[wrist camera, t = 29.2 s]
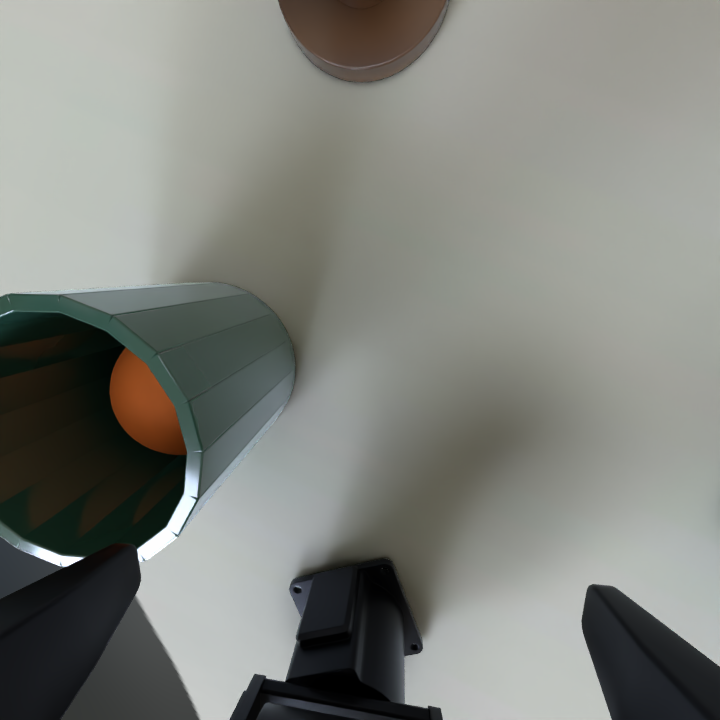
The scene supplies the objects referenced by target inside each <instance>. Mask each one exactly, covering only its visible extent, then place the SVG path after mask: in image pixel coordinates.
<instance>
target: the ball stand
mask: <svg viewBox="0 0 720 720" xmlns="http://www.w3.org/2000/svg"><path fill="white" fill-rule="evenodd" d="M278 1H279V5H280V8H281V11H282V13H283V16H284V18H285V21H286V23H287V25H288V27H289V29H290V31H291V33H292V35H293V37H294V39H295V41H296V43H297V45H298V46H299V47H300V49H301V50H302V51H303V53H304V54H305V55H306V56H307V57H308V58H309V60H310V61H311V62H312V63H314V64H315V65H316V66H317V67H319V68H320V69H321V70H323V71H325V72H326V73H328V74H330V75H332V76H334V77H337V78H339V79H343V80H347V81H354V82H369V81H375V80H380V79H383V78H386V77H389V76H392V75H394V74H395V73H397V72H399V71H401V70H403V69H404V68H406V67H407V66H408V65H410V64H411V63H412V62H413V61H415V60H416V59H417V58H418V57H419V56H420V55H421V54H422V53H423V51H424V50H425V49H426V48H427V47H428V46H429V44H430V43H431V41H432V40H433V38H434V37H435V35H436V33H437V31H438V29H439V27H440V25H441V23H442V21H443V18H444V16H445V13H446V11H447V7H448V3H449V0H278Z"/></svg>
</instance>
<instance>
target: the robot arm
mask: <svg viewBox="0 0 720 720" xmlns="http://www.w3.org/2000/svg"><path fill="white" fill-rule="evenodd" d="M383 567H386V568H388V569H387V570H384V569H382V568H383ZM140 582H141V573H140V566H139V559H138V552H137V548H136V547H135V545H133V544H125V543H114V544H111V545H109V546H107V547H105V548H103V549H101V550H99V551H97V552H95V553H93V554H91V555H89V556H87V557H85V558H83V559H81V560H79V561H77V562H75V563H73V564H71V565H69V566H66V567H64V568H62V569H60V570H58V571H56V572H54V573H52V574H50V575H48V576H46V577H44V578H42V579H40V580H38V581H36V582H34V583H32V584H30V585H28V586H26V587H24V588H22V589H20V590H18V591H16V592H14V593H12V594H10V595H7V596H5V597H3V598H1V599H0V720H61V718H62V717H63V715H64V714H65V712H66V711H67V709H68V708H69V706H70V705H71V703H72V702H73V700H74V699H75V697H76V696H77V694H78V692H79V691H80V690H81V688H82V686H83V685H84V683H85V682H86V680H87V679H88V677H89V676H90V674H91V672H92V670H93V669H94V667H95V666H96V664H97V662H98V660H99V659H100V657H101V655H102V654H103V652H104V650H105V648H106V646H107V645H108V643H109V641H110V639H111V638H112V636H113V634H114V632H115V630H116V629H117V627H118V625H119V623H120V621H121V620H122V618H123V616H124V614H125V612H126V610H127V609H128V607H129V605H130V603H131V602H132V600H133V598H134V596H135V594H136V593H137V591H138V588H139V586H140ZM297 587H300V588H297ZM289 590H290V593H291V596H292V598H293V600H294V602H295V605H296V607H297V609H298V611H299V614H300V616H301V621H300V624H299V628H298V631H297V635H296V640H297V642H296V645H295V649H294V652H293V656H292V659H291V663H290V666H289V670H288V674H287V677H286V681H285V682H283V681H277V680H272V679H266V676H264V675H258V674H254V676H253V678H252V680H251V682H250V684H249V686H248V688H247V690H246V691H244V692H243V694H242V696H241V698H240V700H239V702H238V704H237V706H236V708H235V710H234V712H233V714H232V716H231V718H230V720H443V719H442V713H441V708H437V707H432V706H428V708H423V707H418V706H412V705H407V704H405V692H404V656H407V655H413V654H418V653H420V652H421V651H422V649H423V642H422V638H421V635H420V633H419V630H418V627H417V625H416V622H415V619H414V617H413V614H412V611H411V609H410V606H409V604H408V601H407V598H406V596H405V593H404V590H403V588H402V585H401V582H400V580H399V577H398V575H397V572H396V569H395V567H394V564H393V562H392V561H391V560H389V559H379V560H375V561H370V562H366V563H361V564H357V565H352V566H348V567H344V568H339V569H335V570H330V571H326V572H321V573H317V574H312V575H308V576H303V577H299V578H295V579H293V581H292V582H291V585H290V588H289ZM582 630H583V634H584V637H585V640H586V643H587V646H588V649H589V652H590V655H591V658H592V661H593V664H594V667H595V670H596V673H597V676H598V679H599V682H600V685H601V688H602V691H603V694H604V697H605V700H606V703H607V706H608V709H609V712H610V715H611V718H612V720H720V667H719V666H718V665H717V664H715V663H714V662H713V661H711V660H710V659H709V658H707V657H706V656H705V655H704V654H702V653H701V652H700V651H698V650H697V649H696V648H694V647H693V646H692V645H690V644H689V643H688V642H686V641H685V640H684V639H683V638H681V637H680V636H679V635H677V634H676V633H675V632H673V631H672V630H671V629H669V628H668V627H667V626H665V625H664V624H663V623H661V622H660V621H659V620H658V619H656V618H655V617H654V616H652V615H651V614H650V613H648V612H647V611H646V610H644V609H643V608H642V607H640V606H639V605H638V604H637V603H635V602H634V601H633V600H631V599H630V598H629V597H627V596H626V595H625V594H623V593H622V592H621V591H619V590H618V589H617V588H615V587H613V586H607V585H596V584H592V585H590V586H589V587H588V589H587V592H586V598H585V603H584V609H583V615H582Z"/></svg>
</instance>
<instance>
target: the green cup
mask: <svg viewBox="0 0 720 720" xmlns="http://www.w3.org/2000/svg"><path fill="white" fill-rule="evenodd" d="M125 348H127V349H129V350H130V351H131V352H132V353H134V354H135V355H136V356H137V357H138V358H140V359H141V360H142V361H143V362H145V363H146V364H147V366H148V367H149V369H150V370H151V372H152V373H153V375H154V376H155V378H156V379H157V381H158V382H159V384H160V385H161V387H162V388H163V390H164V391H165V393H166V394H167V396H168V397H169V399H170V400H171V402H172V403H173V405H174V407H175V410H176V414H177V418H178V421H179V425H180V428H181V432H182V435H183V439H184V443H185V446H186V450H187V455H172V454H165V453H161V452H158V451H154V450H152V449H149V448H147V447H145V446H143V445H142V444H140V443H139V442H137V441H136V440H134V439H133V438H132V437H131V436H130V435H129V434H128V433H127V432H126V431H125V430H124V429H123V428H122V426H121V425H120V424H119V422H118V420H117V418H116V416H115V414H114V412H113V409H112V405H111V400H110V393H109V392H110V380H111V374H112V371H113V368H114V366H115V363H116V361H117V359H118V358H119V356H120V354H121V353H122V352H123V350H124V349H125ZM295 371H296V367H295V356H294V351H293V347H292V344H291V340H290V338H289V335H288V333H287V331H286V329H285V327H284V326H283V324H282V322H281V321H280V319H279V318H278V317H277V316H276V314H275V313H274V312H273V311H272V310H271V309H270V308H269V307H268V306H267V305H266V304H265V303H264V302H263V301H261V300H260V299H259V298H257V297H256V296H255V295H253V294H251V293H249V292H248V291H246V290H243V289H241V288H239V287H236V286H233V285H229V284H225V283H217V282H188V283H172V284H155V285H139V286H122V287H105V288H89V289H72V290H56V291H39V292H23V293H10V294H6V295H3V296H1V297H0V536H1V537H2V538H4V539H5V540H6V541H8V542H9V543H10V544H12V545H13V546H14V547H15V548H18V549H19V550H21V551H24V552H26V553H28V554H31V555H33V556H36V557H38V558H41V559H43V560H46V561H48V562H50V563H53V564H56V565H58V566H62V567H66V566H69V565H71V564H73V563H75V562H77V561H79V560H81V559H83V558H85V557H87V556H89V555H91V554H93V553H95V552H97V551H99V550H101V549H103V548H105V547H107V546H109V545H111V544H114V543H125V544H133V545H135V547H136V548H137V552H138V559H139V562H142V561H145V560H148V559H149V558H150V557H152V556H153V555H154V554H156V553H157V552H158V551H160V550H161V549H162V548H164V547H165V546H166V545H168V544H169V543H170V542H172V541H173V540H174V539H176V538H177V537H178V536H179V535H180V534H181V533H182V531H183V530H184V529H185V528H186V527H187V525H188V524H189V523H190V522H191V521H192V519H193V518H194V517H195V516H196V515H197V514H198V512H199V511H200V510H201V509H202V508H203V506H204V505H205V504H206V503H207V502H208V500H209V499H210V498H211V497H212V496H213V494H214V493H215V492H216V491H217V490H218V488H219V487H220V486H221V485H222V484H223V482H224V481H225V480H226V479H227V478H228V476H229V475H230V474H231V473H232V472H233V470H234V469H235V468H236V467H237V466H238V465H239V463H240V462H241V461H242V460H243V459H244V457H245V456H246V455H247V454H248V453H249V451H250V450H251V449H252V448H253V447H254V445H255V444H256V443H257V442H258V441H259V439H260V438H261V437H262V436H263V435H264V433H265V432H266V431H267V430H268V429H269V427H270V426H271V425H272V424H273V423H274V421H275V420H276V419H277V418H278V416H279V414H280V413H281V411H282V410H283V408H284V407H285V405H286V404H287V402H288V400H289V398H290V395H291V392H292V390H293V386H294V381H295Z"/></svg>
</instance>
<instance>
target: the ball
mask: <svg viewBox="0 0 720 720" xmlns="http://www.w3.org/2000/svg"><path fill="white" fill-rule="evenodd" d="M109 393H110V400H111V405H112V409H113V412H114V414H115V416H116V418H117V420H118V422H119V424H120V425H121V426H122V428H123V429H124V430H125V431H126V432H127V433H128V434H129V435H130V436H131V437H132V438H133V439H134V440H136V441H137V442H139V443H140V444H142V445H143V446H145V447H147V448H149V449H152V450H154V451H158V452H161V453H165V454H172V455H187V450H186V446H185V443H184V439H183V435H182V432H181V428H180V425H179V421H178V418H177V414H176V410H175V407H174V405H173V403H172V402H171V400H170V399H169V397H168V396H167V394H166V393H165V391H164V390H163V388H162V387H161V385H160V384H159V382H158V381H157V379H156V378H155V376H154V375H153V373H152V372H151V370H150V369H149V367H148V366H147V364H146V363H145V362H143V361H142V360H141V359H140V358H138V357H137V356H136V355H135V354H134V353H132V352H131V351H130V350H129V349H127V348H125V349H124V350H123V352H122V353H121V354H120V356H119V358H118V359H117V361H116V363H115V366H114V368H113V371H112V374H111V380H110V392H109Z"/></svg>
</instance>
